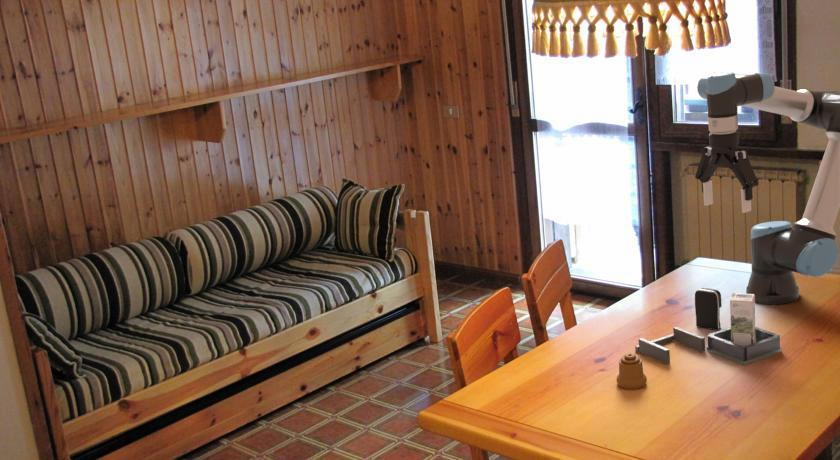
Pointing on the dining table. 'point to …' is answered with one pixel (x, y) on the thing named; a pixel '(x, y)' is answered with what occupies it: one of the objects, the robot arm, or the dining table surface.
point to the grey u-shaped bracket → (679, 336)
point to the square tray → (745, 355)
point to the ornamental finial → (631, 372)
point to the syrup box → (742, 319)
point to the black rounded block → (708, 308)
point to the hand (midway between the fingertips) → (727, 208)
